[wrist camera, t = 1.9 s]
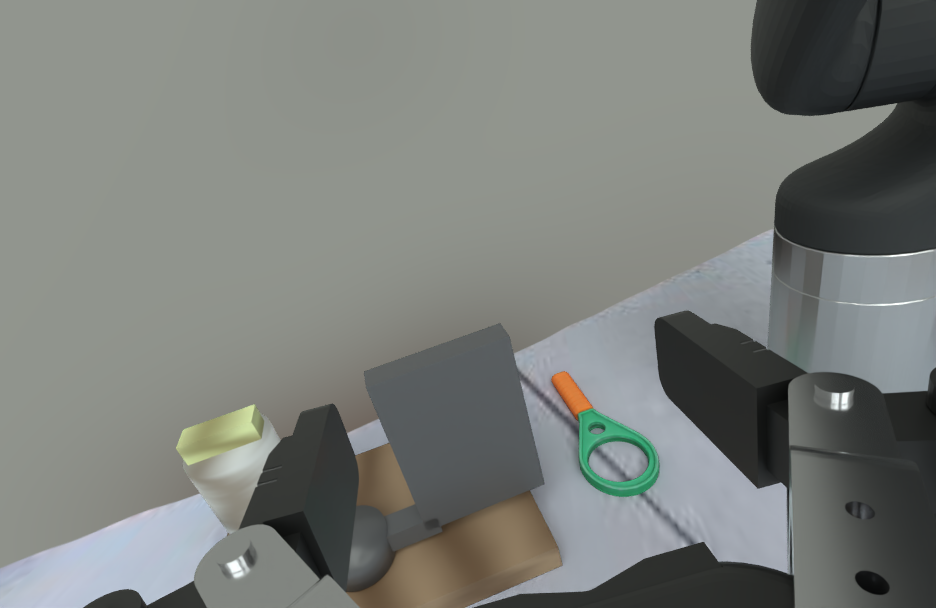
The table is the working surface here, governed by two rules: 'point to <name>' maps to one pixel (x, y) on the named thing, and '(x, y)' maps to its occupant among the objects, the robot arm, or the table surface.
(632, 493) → the magnifying glass
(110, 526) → the table surface
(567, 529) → the table surface
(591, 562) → the table surface
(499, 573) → the base
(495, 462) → the grey panel with handle
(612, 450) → the table surface
